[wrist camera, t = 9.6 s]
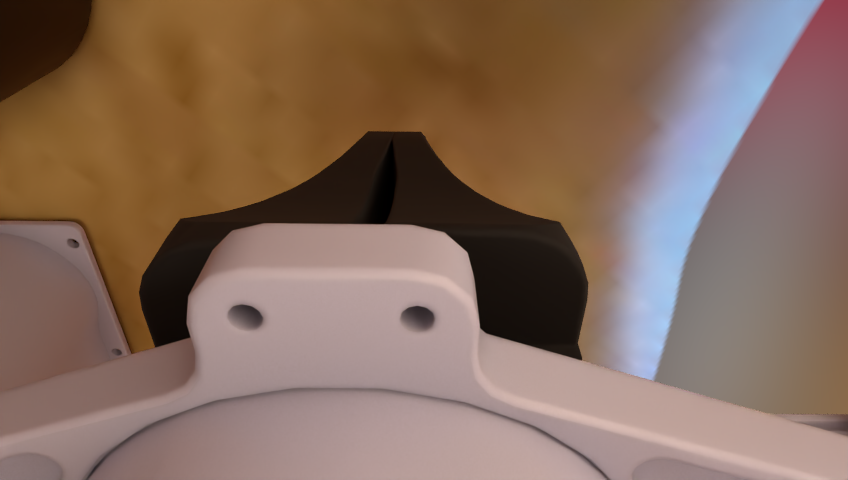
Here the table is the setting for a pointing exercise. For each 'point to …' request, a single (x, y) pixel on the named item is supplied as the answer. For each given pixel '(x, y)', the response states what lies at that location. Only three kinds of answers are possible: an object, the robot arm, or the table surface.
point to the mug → (37, 38)
